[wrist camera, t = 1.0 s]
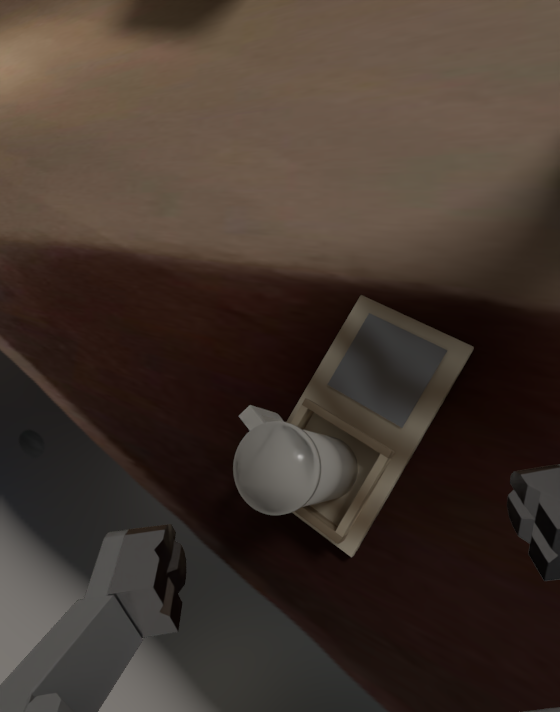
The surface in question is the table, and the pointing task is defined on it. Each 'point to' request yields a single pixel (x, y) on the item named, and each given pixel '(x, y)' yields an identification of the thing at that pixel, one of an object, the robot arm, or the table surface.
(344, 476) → the tall white canister
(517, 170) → the table surface
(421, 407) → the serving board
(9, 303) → the table surface
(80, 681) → the robot arm
